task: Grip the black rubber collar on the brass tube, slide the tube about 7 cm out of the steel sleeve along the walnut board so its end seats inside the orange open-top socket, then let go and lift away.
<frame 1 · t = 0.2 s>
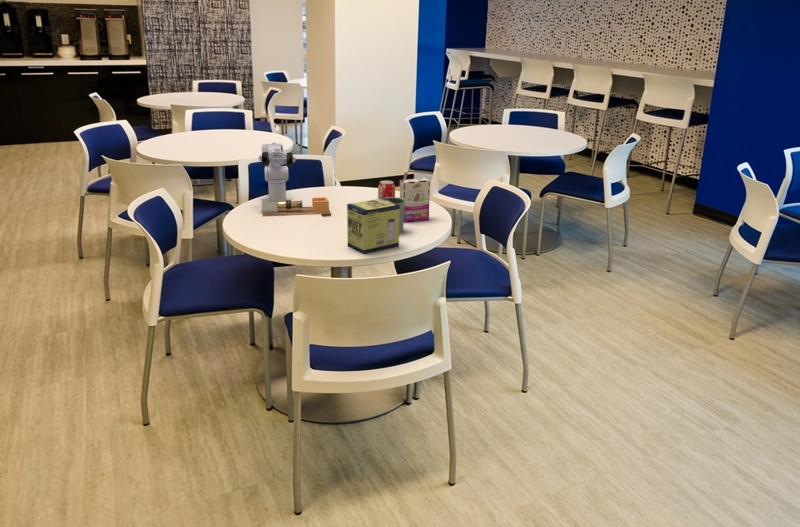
hand: (278, 162, 268), 21 cm above the table, tool horizontal, fingers open, 7 cm apart
outer sleeve: (269, 212, 274), resting on base board
grey cup: (391, 231, 258), on the table
base board: (296, 213, 277), on the table
protein box: (373, 247, 240), on the table
inner tube: (282, 204, 274), point 4 cm above the table, slide at 0.0 cm
candy bar box: (413, 220, 272), on the table
socket block: (320, 212, 279), resting on base board
soda can: (386, 210, 285), on the table
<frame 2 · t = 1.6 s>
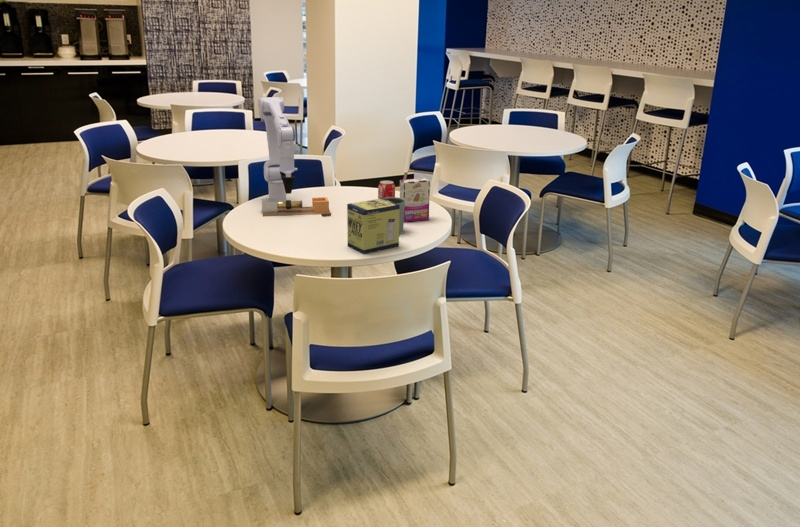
hand: (287, 191, 273), 9 cm above the table, tool pointing down, fingers open, 7 cm apart
nothing on the table moved.
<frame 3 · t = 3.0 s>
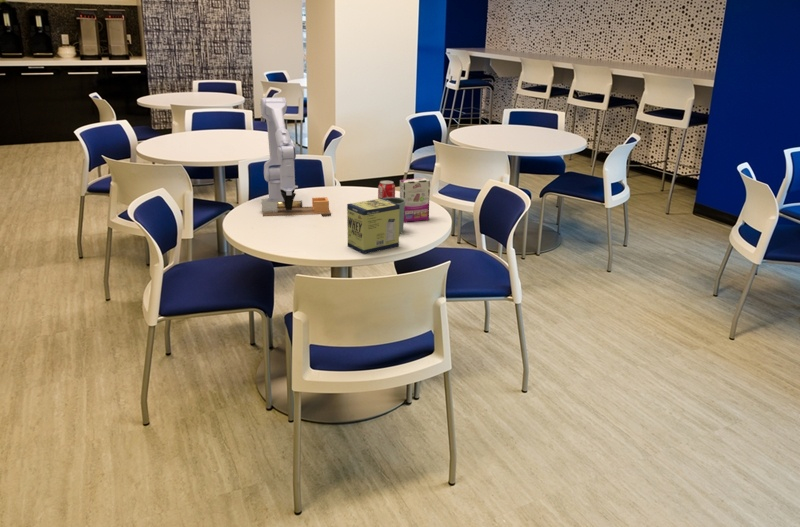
hand: (288, 208, 276), 2 cm above the table, tool pointing down, fingers closed on inner tube, 4 cm apart
inner tube: (282, 204, 274), point 4 cm above the table, slide at 0.0 cm, touching gripper
everything else where it was.
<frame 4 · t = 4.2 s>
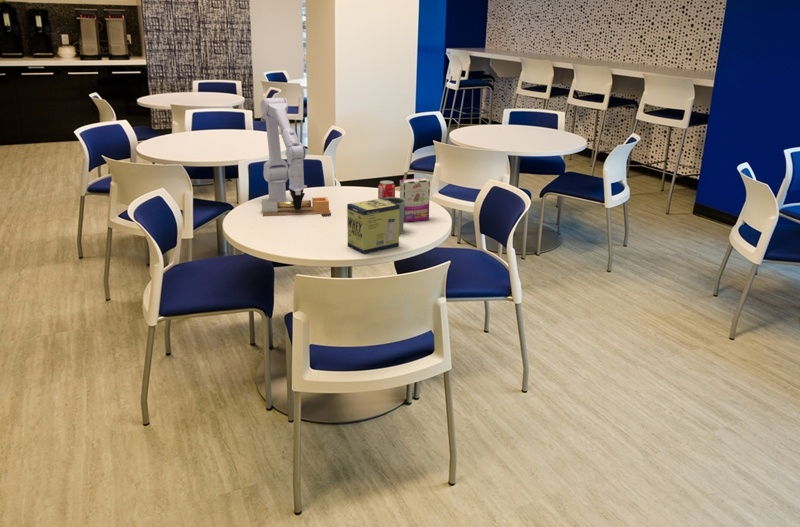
hand: (297, 208, 276), 2 cm above the table, tool pointing down, fingers closed on inner tube, 4 cm apart
inner tube: (290, 204, 275), point 4 cm above the table, slide at 3.5 cm, touching gripper
everything else where it was.
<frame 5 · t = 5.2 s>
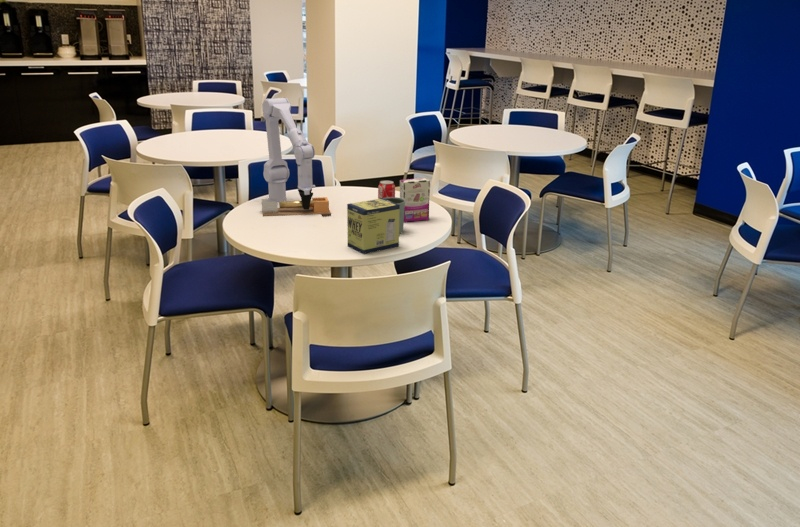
hand: (305, 207, 277), 2 cm above the table, tool pointing down, fingers closed on inner tube, 4 cm apart
inner tube: (299, 204, 276), point 4 cm above the table, slide at 6.9 cm, touching gripper
everything else where it was.
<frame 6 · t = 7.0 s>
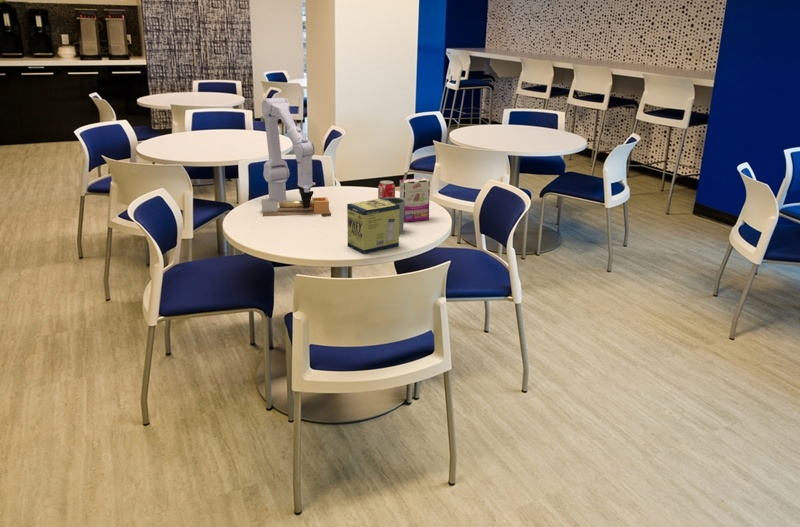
hand: (305, 205, 277), 3 cm above the table, tool pointing down, fingers open, 7 cm apart
inner tube: (299, 204, 276), point 4 cm above the table, slide at 6.9 cm
everything else where it was.
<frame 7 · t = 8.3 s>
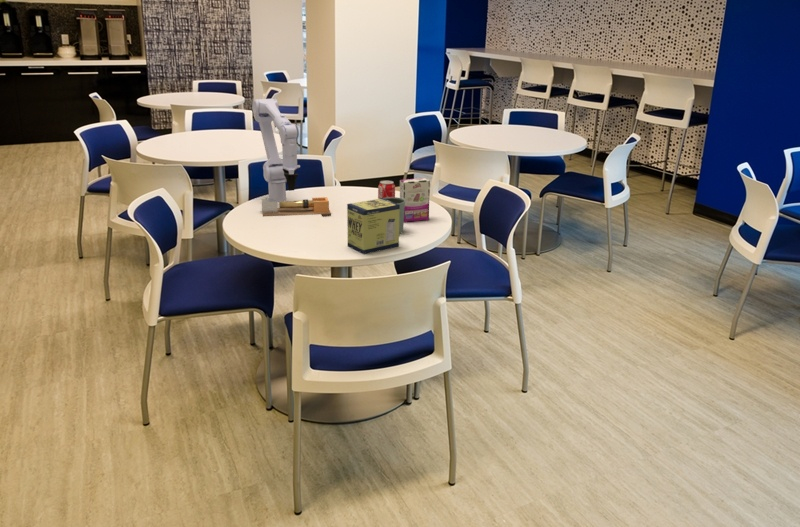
hand: (290, 188, 278), 9 cm above the table, tool pointing down, fingers open, 7 cm apart
nothing on the table moved.
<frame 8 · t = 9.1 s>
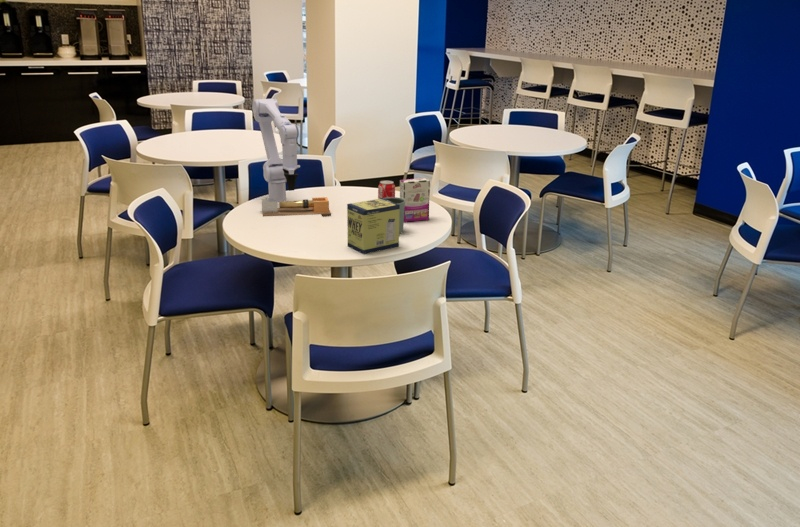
hand: (290, 188, 278), 9 cm above the table, tool pointing down, fingers open, 7 cm apart
nothing on the table moved.
at the end: inner tube slide at 6.9 cm; the gripper is holding nothing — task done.
